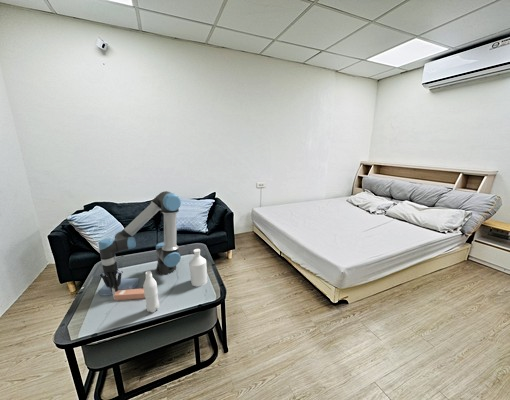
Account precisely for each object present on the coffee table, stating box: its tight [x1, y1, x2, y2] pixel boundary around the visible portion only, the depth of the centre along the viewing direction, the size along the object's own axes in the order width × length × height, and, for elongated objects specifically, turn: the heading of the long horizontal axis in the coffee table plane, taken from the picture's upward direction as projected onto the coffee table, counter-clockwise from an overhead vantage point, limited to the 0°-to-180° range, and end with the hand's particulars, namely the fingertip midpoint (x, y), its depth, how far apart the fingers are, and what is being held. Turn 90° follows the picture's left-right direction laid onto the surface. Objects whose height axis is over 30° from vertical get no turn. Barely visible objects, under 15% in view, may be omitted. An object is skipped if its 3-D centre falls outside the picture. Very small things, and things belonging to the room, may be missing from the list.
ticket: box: [98, 277, 139, 296], centre depth 150 cm, size 20×12×4 cm, turn 95°
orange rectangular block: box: [113, 288, 146, 301], centre depth 141 cm, size 20×6×4 cm, turn 95°
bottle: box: [188, 248, 208, 288], centre depth 154 cm, size 12×12×25 cm
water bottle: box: [142, 270, 160, 314], centre depth 127 cm, size 7×7×25 cm
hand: (115, 295), depth 140 cm, fingers closed
